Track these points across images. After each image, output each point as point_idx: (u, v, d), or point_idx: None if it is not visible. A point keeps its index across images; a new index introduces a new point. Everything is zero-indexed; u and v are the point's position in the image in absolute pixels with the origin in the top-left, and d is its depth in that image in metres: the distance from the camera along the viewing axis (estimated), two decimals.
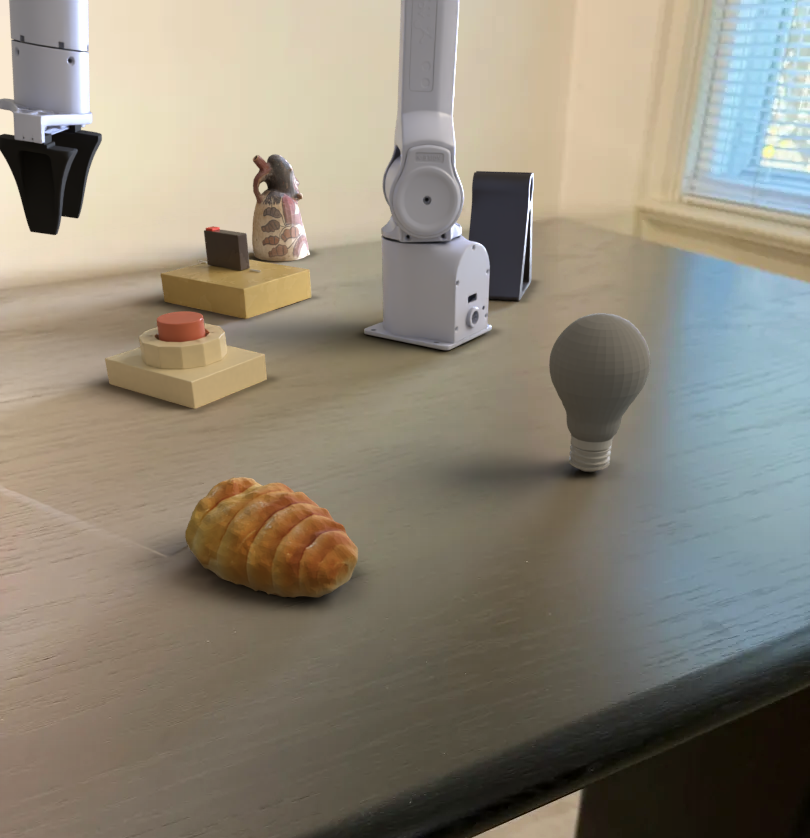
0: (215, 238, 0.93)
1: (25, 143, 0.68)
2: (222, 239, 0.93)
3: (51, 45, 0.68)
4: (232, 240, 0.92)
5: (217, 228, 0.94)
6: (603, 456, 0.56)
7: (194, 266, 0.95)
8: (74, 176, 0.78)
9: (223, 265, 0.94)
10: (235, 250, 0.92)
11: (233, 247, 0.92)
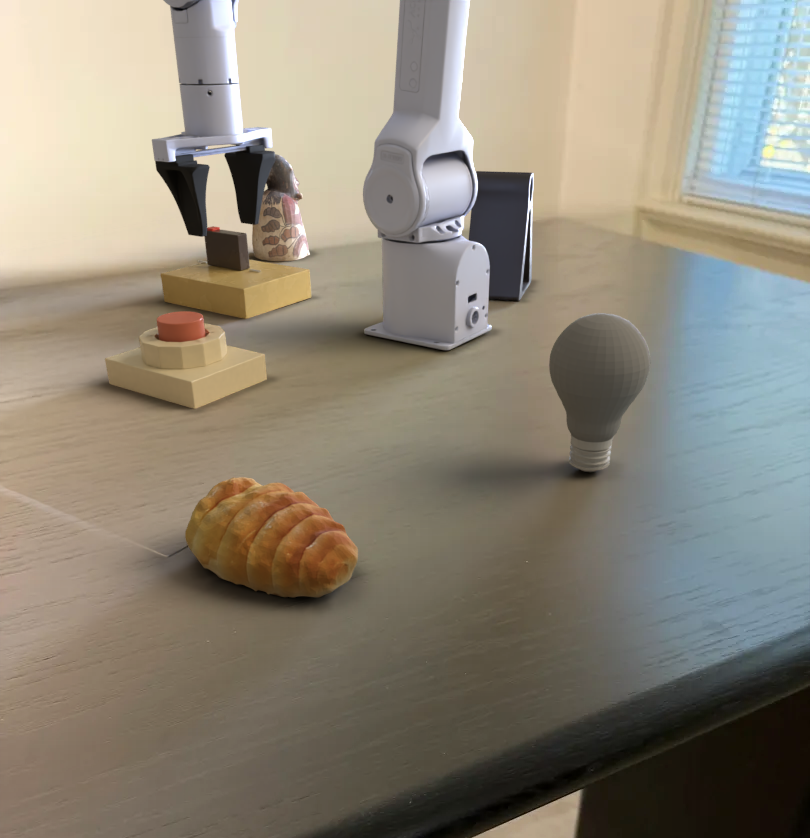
0: (215, 238, 0.93)
1: (166, 163, 0.85)
2: (222, 239, 0.93)
3: (193, 83, 0.84)
4: (232, 240, 0.92)
5: (217, 228, 0.94)
6: (603, 456, 0.56)
7: (194, 266, 0.95)
8: (251, 189, 0.93)
9: (223, 265, 0.94)
10: (235, 250, 0.92)
11: (233, 247, 0.92)
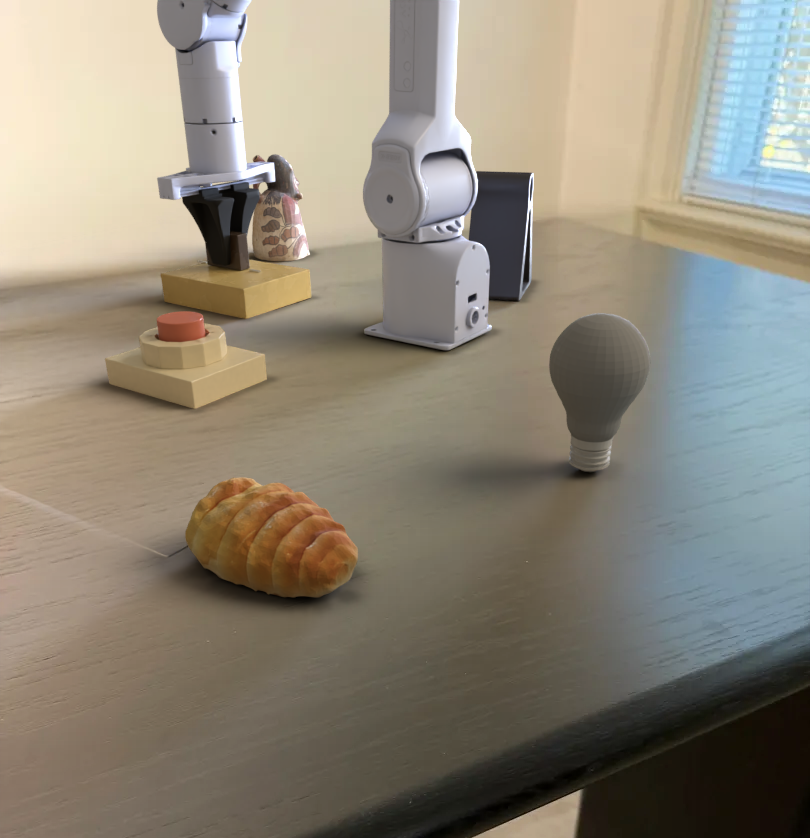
0: None
1: (193, 196, 0.89)
2: None
3: (198, 122, 0.86)
4: (232, 240, 0.92)
5: None
6: (603, 456, 0.56)
7: (194, 266, 0.95)
8: (235, 227, 0.93)
9: (223, 265, 0.94)
10: (235, 250, 0.92)
11: (233, 247, 0.92)
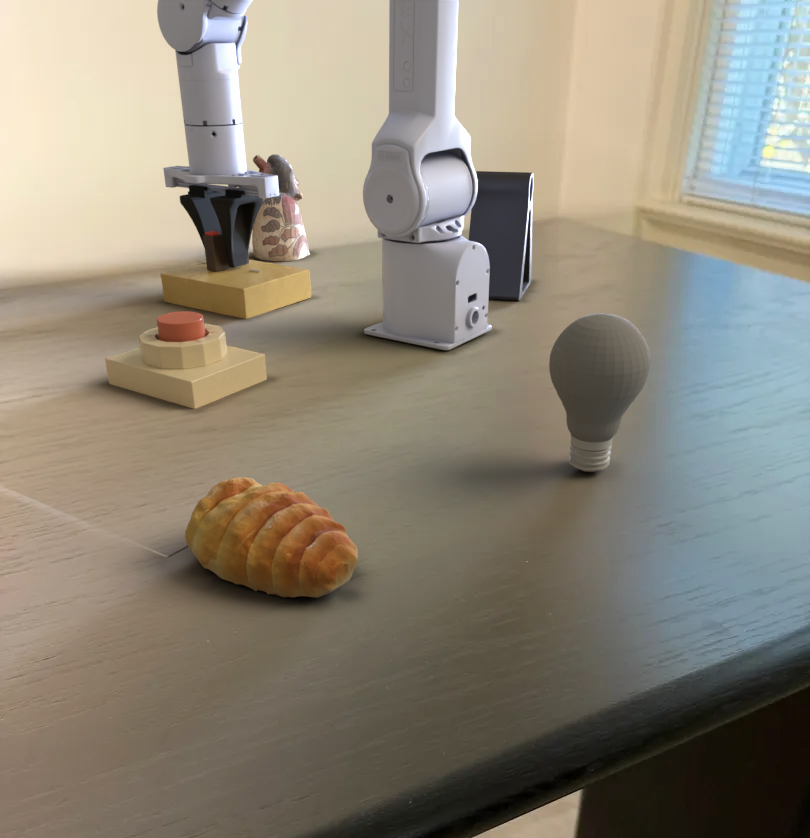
0: None
1: (243, 198, 0.89)
2: None
3: (238, 122, 0.87)
4: None
5: (213, 231, 0.92)
6: (603, 456, 0.56)
7: (194, 266, 0.95)
8: (221, 227, 0.94)
9: None
10: None
11: None
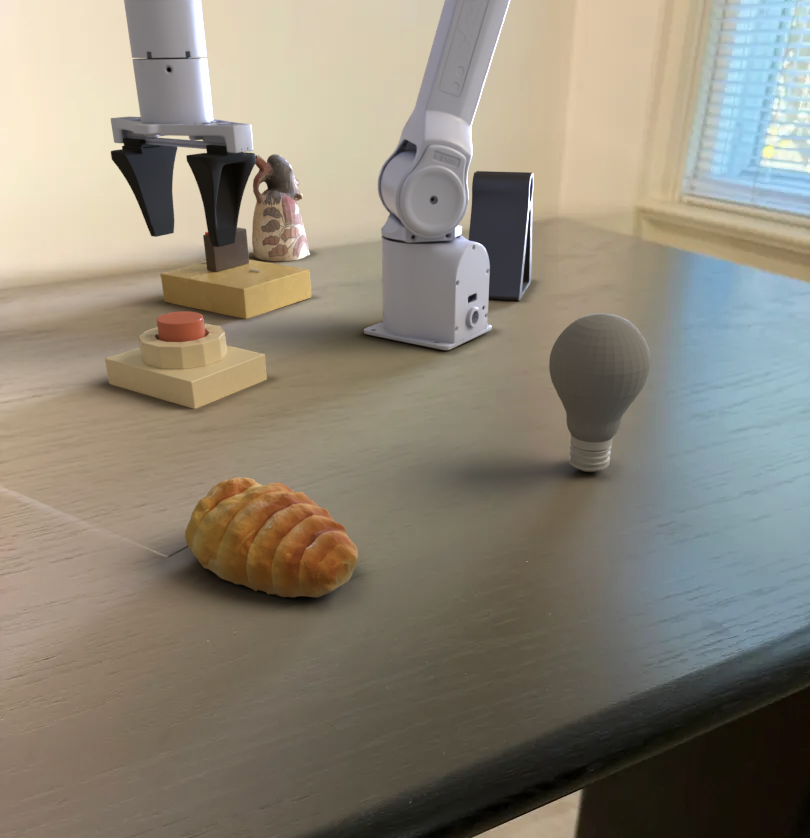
0: None
1: (229, 155, 0.69)
2: None
3: (201, 55, 0.68)
4: (241, 235, 0.94)
5: None
6: (603, 456, 0.56)
7: (194, 266, 0.95)
8: (164, 190, 0.76)
9: (232, 265, 0.94)
10: (244, 244, 0.95)
11: (242, 242, 0.95)
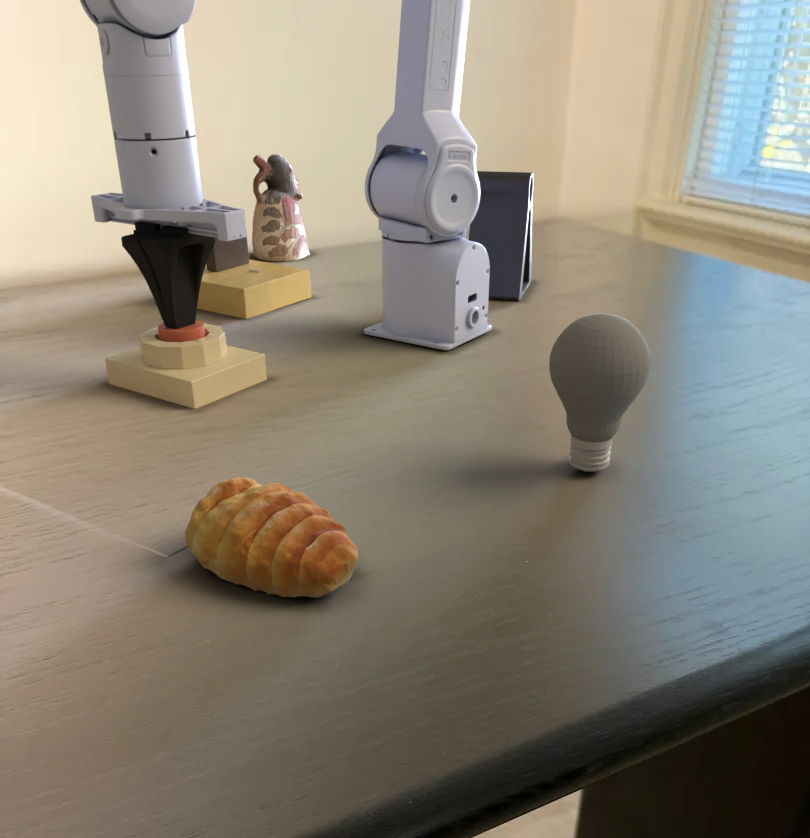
0: None
1: (187, 237, 0.65)
2: None
3: (189, 135, 0.62)
4: None
5: None
6: (603, 456, 0.56)
7: None
8: None
9: (232, 265, 0.94)
10: (244, 244, 0.95)
11: (242, 242, 0.95)
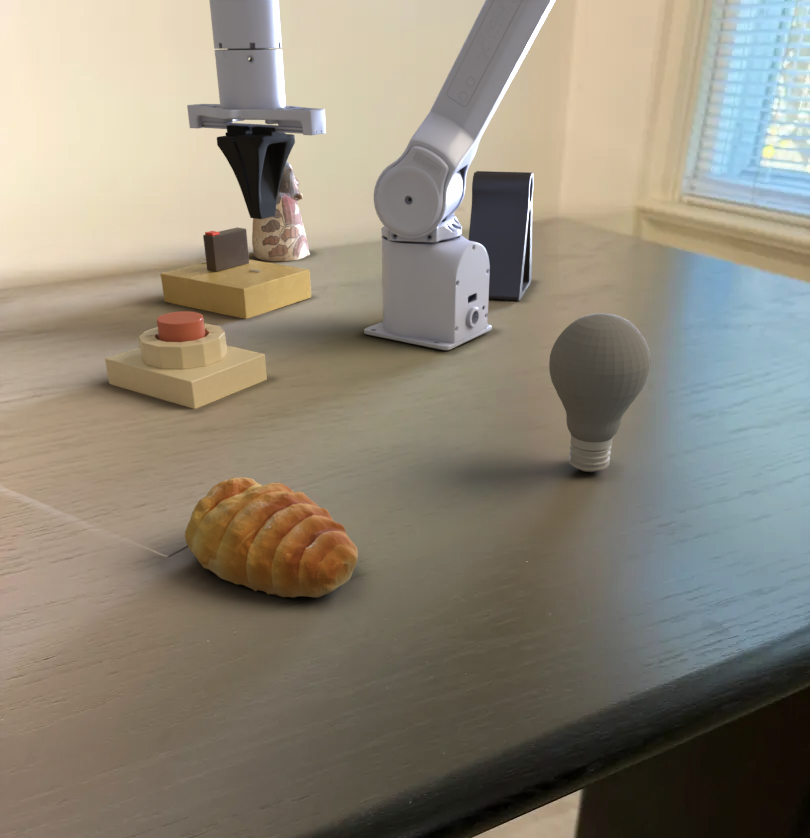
0: (224, 240, 0.93)
1: (273, 136, 0.77)
2: (232, 238, 0.93)
3: (278, 46, 0.75)
4: (241, 235, 0.94)
5: (213, 231, 0.92)
6: (603, 456, 0.56)
7: (194, 266, 0.95)
8: None
9: (232, 265, 0.94)
10: (244, 244, 0.95)
11: (242, 242, 0.95)
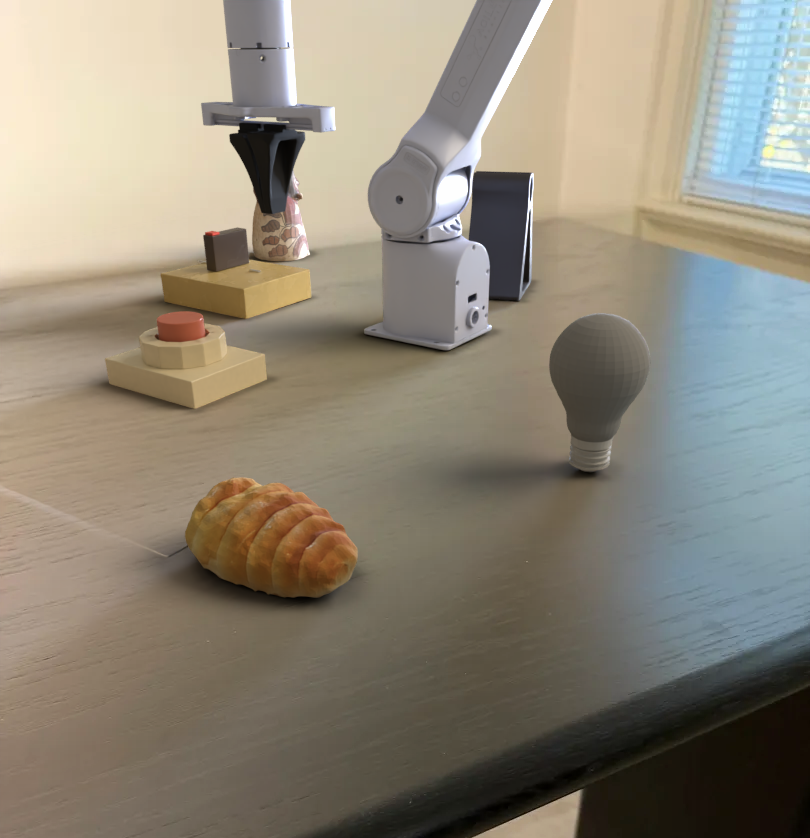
0: (224, 240, 0.93)
1: (284, 133, 0.79)
2: (232, 238, 0.93)
3: (289, 46, 0.77)
4: (241, 235, 0.94)
5: (213, 231, 0.92)
6: (603, 456, 0.56)
7: (194, 266, 0.95)
8: None
9: (232, 265, 0.94)
10: (244, 244, 0.95)
11: (242, 242, 0.95)
